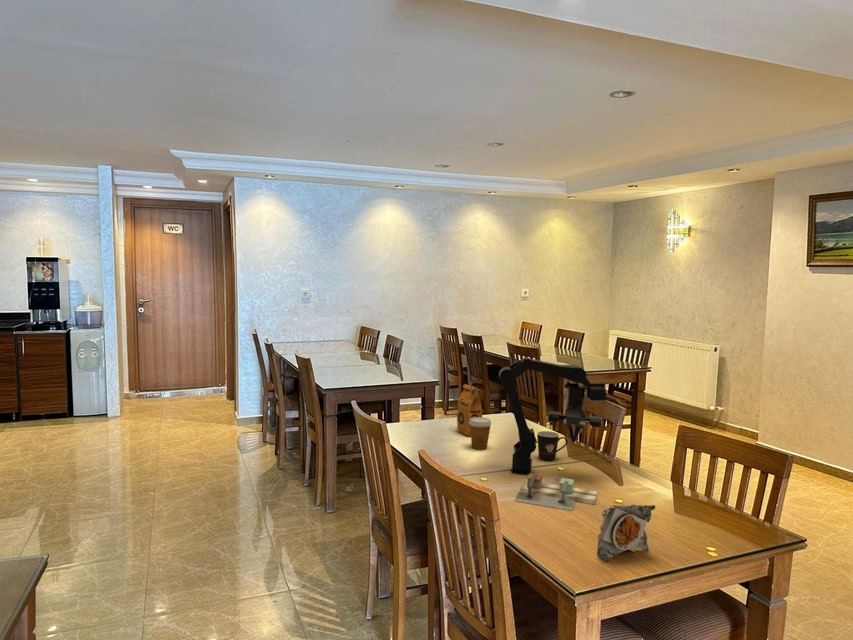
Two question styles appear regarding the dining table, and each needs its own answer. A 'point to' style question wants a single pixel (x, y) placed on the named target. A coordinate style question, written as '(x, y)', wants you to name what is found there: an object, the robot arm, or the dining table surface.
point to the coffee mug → (548, 445)
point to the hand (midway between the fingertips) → (573, 442)
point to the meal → (623, 530)
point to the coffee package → (468, 409)
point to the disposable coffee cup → (479, 432)
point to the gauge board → (556, 490)
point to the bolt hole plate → (545, 501)
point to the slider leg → (566, 487)
